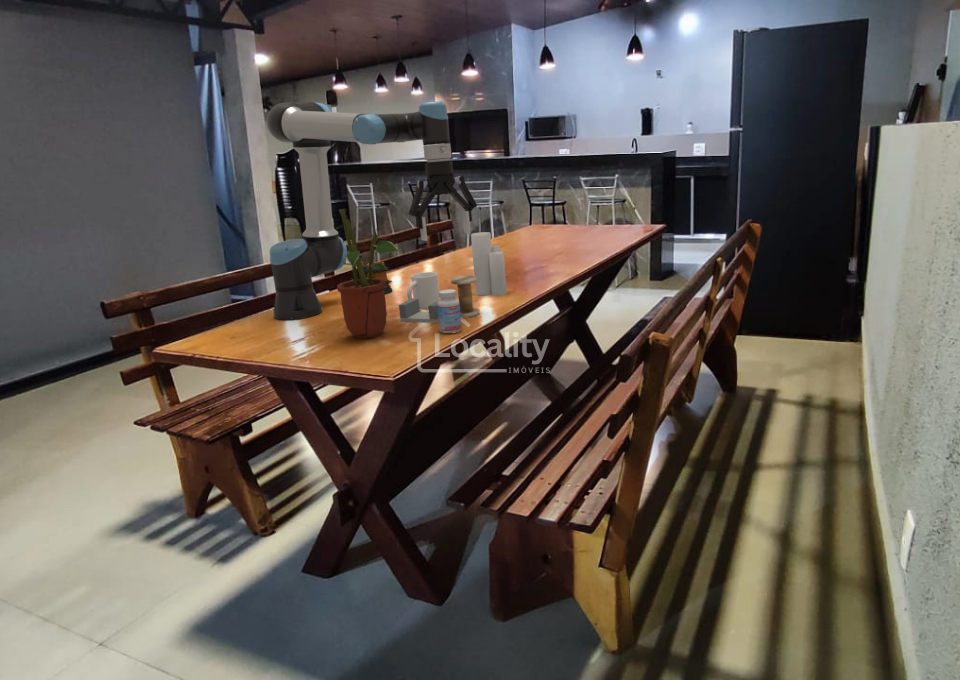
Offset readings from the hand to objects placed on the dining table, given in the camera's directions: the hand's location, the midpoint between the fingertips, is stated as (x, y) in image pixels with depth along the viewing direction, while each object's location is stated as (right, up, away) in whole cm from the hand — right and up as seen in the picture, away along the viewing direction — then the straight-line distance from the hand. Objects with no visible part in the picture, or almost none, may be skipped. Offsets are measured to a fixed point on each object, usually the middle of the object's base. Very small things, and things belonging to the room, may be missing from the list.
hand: (446, 237), depth 192 cm
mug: (-8, -19, +21) cm, 30 cm away
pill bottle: (+2, -27, -8) cm, 28 cm away
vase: (+14, -14, +33) cm, 38 cm away
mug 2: (-28, -13, +48) cm, 57 cm away
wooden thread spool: (+6, -22, +8) cm, 24 cm away
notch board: (-7, -23, +7) cm, 25 cm away
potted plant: (-20, -28, -4) cm, 34 cm away
